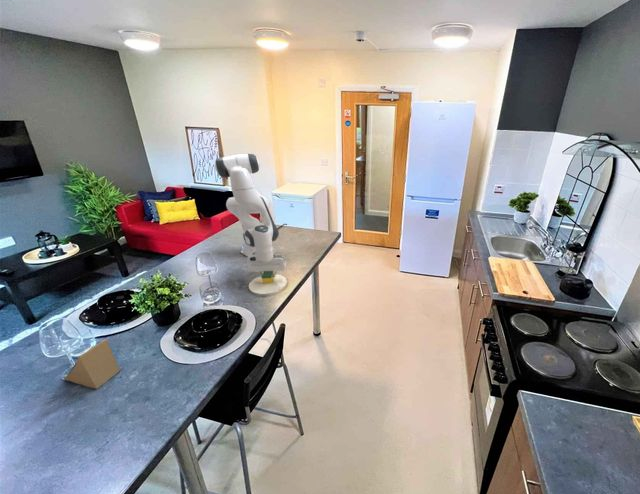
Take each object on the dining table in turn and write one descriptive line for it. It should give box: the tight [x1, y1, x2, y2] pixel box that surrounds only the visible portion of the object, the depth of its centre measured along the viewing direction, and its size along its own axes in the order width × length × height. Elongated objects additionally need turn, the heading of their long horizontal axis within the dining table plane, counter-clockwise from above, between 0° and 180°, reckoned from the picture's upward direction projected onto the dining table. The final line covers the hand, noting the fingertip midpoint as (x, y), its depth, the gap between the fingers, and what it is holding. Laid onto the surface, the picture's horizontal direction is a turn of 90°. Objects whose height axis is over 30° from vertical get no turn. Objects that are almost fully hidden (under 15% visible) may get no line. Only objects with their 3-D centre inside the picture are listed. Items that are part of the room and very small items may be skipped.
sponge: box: [262, 271, 275, 283], centre depth 161 cm, size 8×5×4 cm, turn 8°
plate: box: [248, 273, 288, 295], centre depth 159 cm, size 20×20×2 cm
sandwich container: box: [64, 338, 121, 390], centre depth 101 cm, size 9×15×15 cm, turn 76°
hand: (268, 277), depth 161 cm, fingers closed on sponge, 5 cm apart
